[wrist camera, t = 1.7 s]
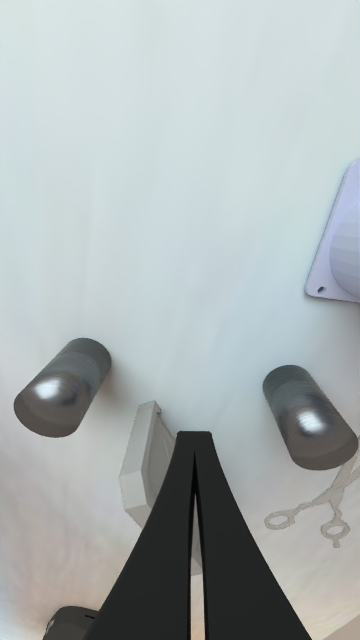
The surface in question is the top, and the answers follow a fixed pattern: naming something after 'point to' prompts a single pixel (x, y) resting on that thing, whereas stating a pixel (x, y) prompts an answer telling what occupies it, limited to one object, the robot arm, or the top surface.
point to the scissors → (331, 494)
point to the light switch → (150, 471)
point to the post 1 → (63, 389)
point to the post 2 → (308, 420)
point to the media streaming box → (70, 623)
